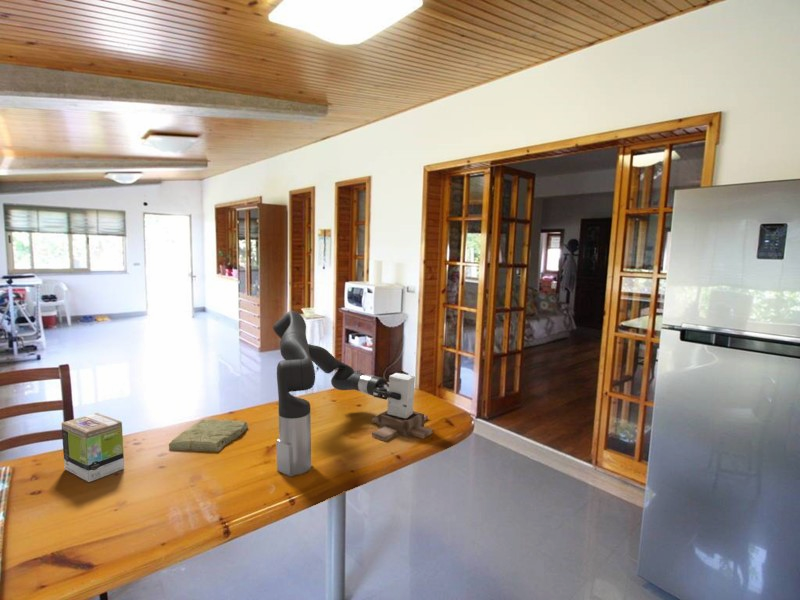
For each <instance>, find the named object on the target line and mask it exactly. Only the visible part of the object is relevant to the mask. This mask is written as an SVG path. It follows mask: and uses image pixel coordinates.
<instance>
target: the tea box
mask: <svg viewBox="0 0 800 600" xmlns="http://www.w3.org/2000/svg"><path fill="white" fill-rule="evenodd" d="M61 435H62V437H61V438H62V451H63V464H64V470H66V471H68V472H69V473H71V474H73V475H75V476H76V477H78V478H80V479H82V480H84V481H86V482H88V483H90V482H93V481H96V480H99V479H101V478H104V477H106V476H109V475H112V474H114V473H116V472H119V471H121V470H124V469H125V457H124V455H125V454H124V453H125V452H124V451H125V450H124V439H123V438H124V437H123V422H122V421H121V420H117V419H116V418H115V419H114V418H112V417H109V416H106V415H105V414H100V413H99V412H96V413H92V414H88V415H85V416H81V417H78V418H74V419H70V420H67V421H63V422H61Z"/></svg>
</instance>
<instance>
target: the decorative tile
mask: <svg viewBox="0 0 800 600" xmlns="http://www.w3.org/2000/svg"><path fill="white" fill-rule="evenodd" d="M248 429H249V426H248V422H247V421H245V420H244V421H243V420H231V419H225V418H224V419H220V420H219V419H214V418H213V419H211V418H210V419H202V420H199V421H198V422H196V423H195V424H192V425H191V426H190V427H189V428H187V429H186V430H184V431H182V432H181V433H179V435H178V436H176V437H175V438H173V439H172V440H171V441H170V442H169V443H168V450H171V451H172V450H173V451H175V450H176V451H193V452H194V451H197V452H216V453H217V452H220V451H222V450H223V448H224V447H225V446H226V445H228V444H230V443H231V442H232V441H234V440H237V439H238V438H239V437H241V436H242V434H243V433H244V432H245V431H247V430H248Z"/></svg>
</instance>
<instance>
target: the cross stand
mask: <svg viewBox="0 0 800 600" xmlns="http://www.w3.org/2000/svg"><path fill="white" fill-rule="evenodd" d="M428 419H429V418H428V415H427V414H424V413H421V412H417V411H414V410H413V414H412V415H410V416H409V417H408V418H402V417H397V416H393V415H388V414H387V410H385V411H384V412H381V413H378V415H376V416H374V417H372V418H371V422H372V423H374V424H377V426H378V428H379V429H377V430H375V431H372V432H371V437H372V438H374V439H377V440H380V441H383V442H387V441H389V440H390V439H393V438H394V437H396V436H398V435H400V436H402V437H405V438H407V437H408V436H413V437H415V438H420V439H423V440H424V439H425V438H426V437H428V436H430V435H432V434H433V429H432V428H429V427H428V426H427V427H426V426H425V421H426V420H428Z"/></svg>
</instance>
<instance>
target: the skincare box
mask: <svg viewBox="0 0 800 600" xmlns="http://www.w3.org/2000/svg"><path fill="white" fill-rule="evenodd" d="M415 381H416V377H415V376H414V375H409V374H405V373H401V372H395V373H393V374H391V375H389V376H388V383H389V391H392V392H395V393H399V394H401V400H396V399H393V398H391V399H389V398H387V410H386V411H387V414H388V415H393V416H397V417H402V418H408V417H409V416H410V415H412V414H413V411H414V398H415V396H414V395H415V384H416V383H415Z"/></svg>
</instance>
